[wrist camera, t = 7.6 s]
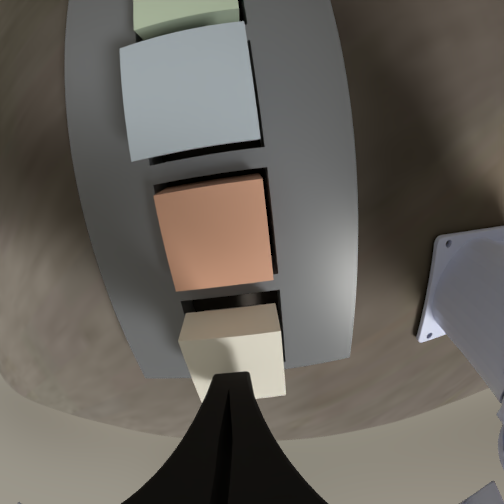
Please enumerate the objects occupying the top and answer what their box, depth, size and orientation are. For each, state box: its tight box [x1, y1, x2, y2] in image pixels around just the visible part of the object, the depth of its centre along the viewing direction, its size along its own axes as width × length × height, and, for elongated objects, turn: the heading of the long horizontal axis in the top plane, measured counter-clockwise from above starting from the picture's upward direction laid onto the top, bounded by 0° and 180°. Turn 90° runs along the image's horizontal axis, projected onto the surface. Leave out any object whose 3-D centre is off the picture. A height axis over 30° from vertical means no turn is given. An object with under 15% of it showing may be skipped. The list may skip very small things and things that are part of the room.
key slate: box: [120, 21, 261, 162], centre depth 8 cm, size 4×4×3 cm
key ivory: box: [178, 303, 286, 402], centre depth 12 cm, size 4×4×3 cm
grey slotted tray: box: [65, 0, 358, 378], centre depth 11 cm, size 12×22×2 cm, turn 7°
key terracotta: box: [154, 173, 274, 292], centre depth 12 cm, size 4×4×3 cm
